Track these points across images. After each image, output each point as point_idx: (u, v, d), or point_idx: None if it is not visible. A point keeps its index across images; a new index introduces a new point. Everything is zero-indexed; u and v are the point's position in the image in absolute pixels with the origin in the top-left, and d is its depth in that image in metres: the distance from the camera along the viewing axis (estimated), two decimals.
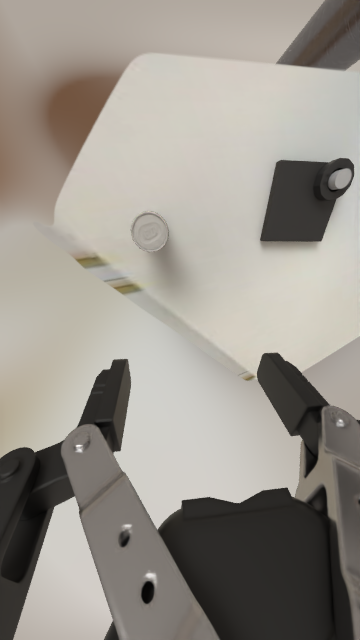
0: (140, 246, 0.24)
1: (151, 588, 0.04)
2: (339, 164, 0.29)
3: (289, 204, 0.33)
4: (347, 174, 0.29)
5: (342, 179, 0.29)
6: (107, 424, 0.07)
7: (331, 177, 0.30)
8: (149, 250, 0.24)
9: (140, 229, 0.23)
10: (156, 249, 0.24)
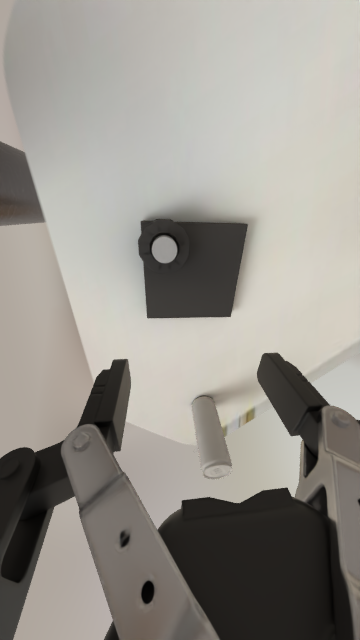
0: (226, 474, 0.29)
1: (151, 588, 0.04)
2: (146, 253, 0.20)
3: (190, 295, 0.25)
4: (158, 246, 0.19)
5: (165, 251, 0.19)
6: (107, 424, 0.07)
7: None
8: (230, 471, 0.28)
9: (214, 474, 0.29)
10: (230, 468, 0.28)
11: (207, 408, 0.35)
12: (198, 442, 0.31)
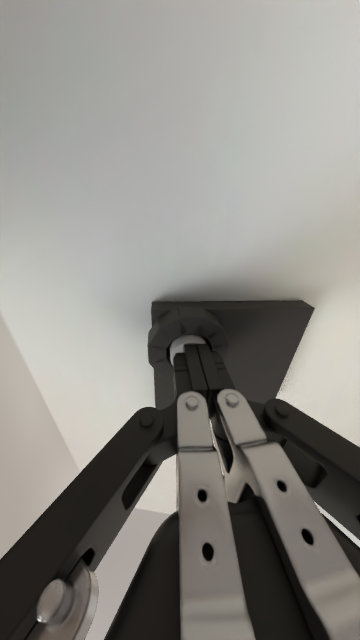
0: None
1: (151, 588, 0.04)
2: (160, 360, 0.13)
3: None
4: None
5: None
6: (202, 393, 0.08)
7: None
8: None
9: None
10: None
11: None
12: None
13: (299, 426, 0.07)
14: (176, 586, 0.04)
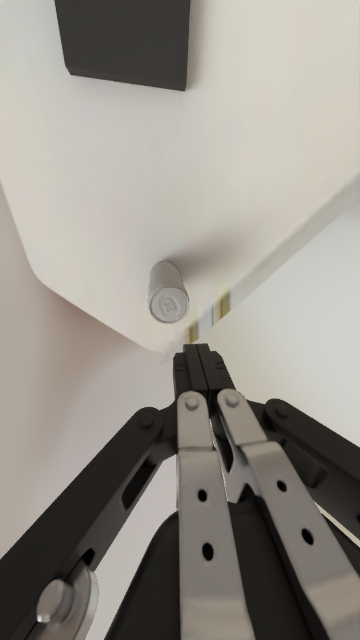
0: (182, 316, 0.22)
1: (151, 588, 0.04)
2: None
3: (124, 20, 0.17)
4: None
5: None
6: (202, 393, 0.08)
7: None
8: (187, 307, 0.21)
9: (165, 314, 0.21)
10: (186, 300, 0.21)
11: (166, 265, 0.27)
12: (149, 288, 0.24)
13: (299, 426, 0.07)
14: (176, 586, 0.04)
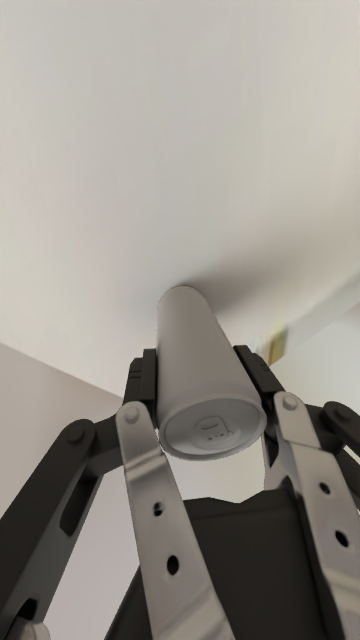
0: (243, 444, 0.09)
1: None
2: None
3: None
4: None
5: None
6: (149, 402, 0.08)
7: None
8: (259, 429, 0.08)
9: (202, 445, 0.08)
10: (261, 417, 0.08)
11: (189, 296, 0.14)
12: (157, 358, 0.11)
13: None
14: (148, 623, 0.04)
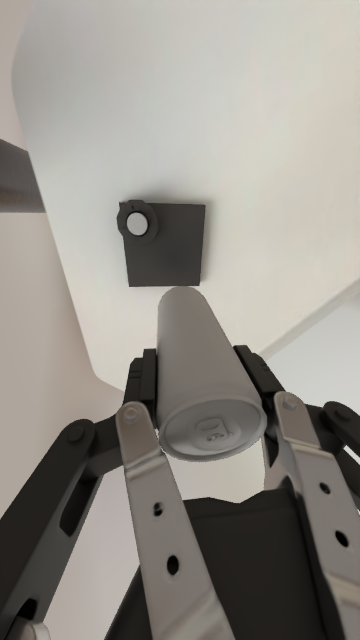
0: (243, 445, 0.09)
1: None
2: (123, 227, 0.25)
3: (164, 266, 0.30)
4: (132, 221, 0.24)
5: (137, 225, 0.24)
6: (149, 402, 0.08)
7: None
8: (259, 430, 0.08)
9: (202, 446, 0.08)
10: (262, 418, 0.08)
11: (189, 296, 0.14)
12: (157, 358, 0.11)
13: None
14: (148, 623, 0.04)
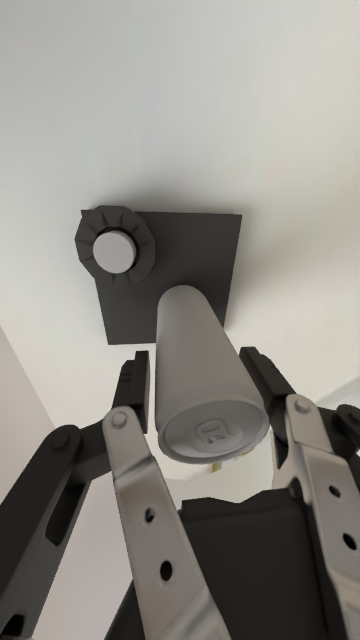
0: (245, 446, 0.08)
1: None
2: (90, 258, 0.13)
3: None
4: (103, 248, 0.12)
5: (115, 255, 0.12)
6: (139, 406, 0.08)
7: None
8: (261, 432, 0.08)
9: (203, 448, 0.08)
10: (264, 419, 0.07)
11: (189, 295, 0.14)
12: (157, 358, 0.10)
13: None
14: (143, 633, 0.03)
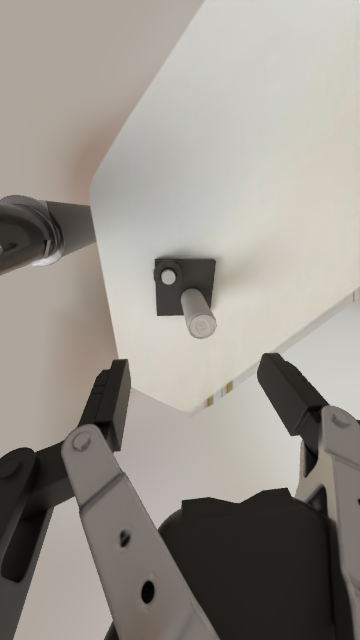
0: (211, 333, 0.31)
1: (151, 588, 0.04)
2: (158, 278, 0.36)
3: None
4: (165, 276, 0.34)
5: (169, 278, 0.35)
6: (107, 424, 0.07)
7: None
8: (215, 327, 0.30)
9: (199, 332, 0.30)
10: (214, 322, 0.30)
11: (195, 292, 0.36)
12: (185, 312, 0.33)
13: None
14: None
